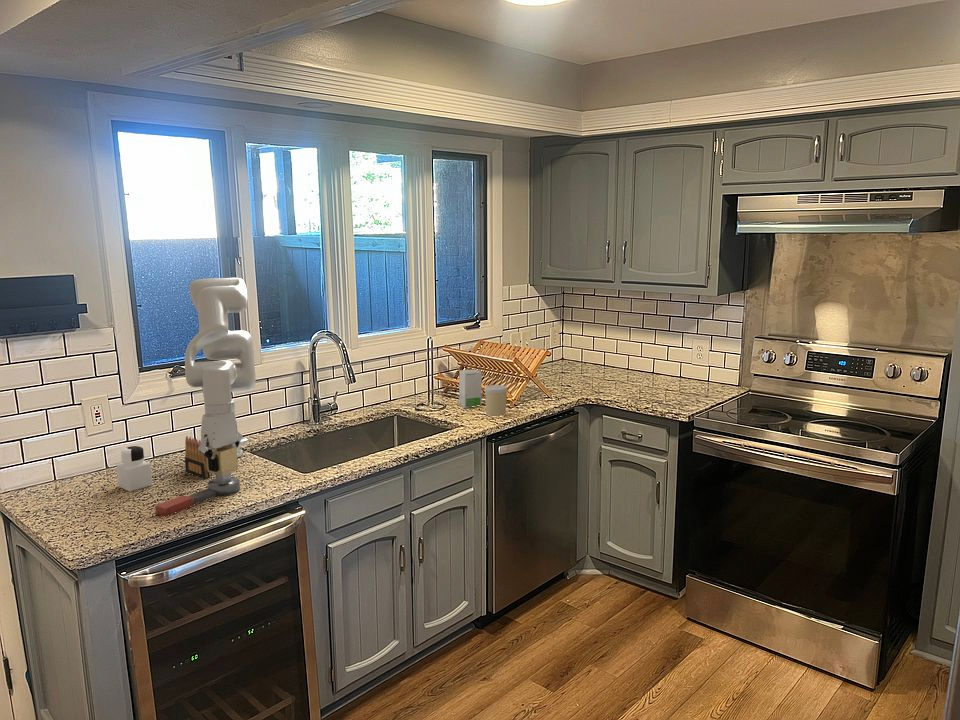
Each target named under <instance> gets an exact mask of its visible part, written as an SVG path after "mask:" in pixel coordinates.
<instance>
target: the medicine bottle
mask: <svg viewBox="0 0 960 720" xmlns="http://www.w3.org/2000/svg"><path fill="white" fill-rule="evenodd" d="M120 455H121V462H120V463H117V464H116V474H117V485H118V487H119V488H121V489H124V490H125V491H127V492H133V491H137V490H140V489H145V488H147V487H151V486H153V477H152V466H151V462H148V461H146V460H145V454H144V448H143V447H142V446H138V445H131V446H127V447H124V448H123V449H121V451H120Z"/></svg>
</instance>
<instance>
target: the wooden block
mask: <svg viewBox="0 0 960 720" xmlns="http://www.w3.org/2000/svg"><path fill="white" fill-rule="evenodd" d="M206 450H207V448H206ZM211 454H212V450H211ZM215 458H217V466H218V471H217V472H214V471H210V470H209V467H208V458H207V468H208V472H209V474H210V473H211V474H215V475H216V474H218V475H224V474H227V473H230V472H231V473H232V472H235V471H238V470H239V464H238V458H237V447H235V446H231V445H227V446H224V447H221V448H218V449H217V451H216V456H215Z"/></svg>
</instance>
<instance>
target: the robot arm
mask: <svg viewBox="0 0 960 720" xmlns="http://www.w3.org/2000/svg"><path fill="white" fill-rule="evenodd" d="M189 295H190V299H191V302H192V304H193V307H194V308H195V310H196V312H197V314H198V328H199V330H198V333H197V334H195V336H194V337H193V338H192V339H191V341H190V342H189V343H188V345H187V347H186V350H185V354H184V370H185V371H184V374H185V381H186V383H187V384H188V386H190V387H191V388H201V389H202V395H203V403H204V404H203V405H204V414H203V415H202V417H201V425H200V426H201V427H200V441H201V444H200V446H199V448H198V451H199V452H201V453H202V454H203V455H204V456H206V458H208V467H209V470H210V471H214V472H217V471H218V466H217V458H215V456H216V451H217V449H218V448H221V447H224V446H227V445H231V446H235V447H237V459H238V458H240V457H241V456H242V455H243V454H244V453H243V452H244V451H243V449H242V448H241V447H242V446H245V445H247V444H249V439H248V438H244V437H243V435H242V434H241V433H240V432H239V430H238V422H237V417H236V405H235V402H234V401H233V399H232V398H233V397H232V393H233V392H234V393H235V392H246V391H247V392H248V391H251V390H253V389H254V388H255V385H256V369H255V367H256V366H255V354H254V343H253V338H252V336H251V334H250V333H249V332H248V331H246V330H229V329H230V328H229V318H228V317H229V316H228V315H229V314H230V313H231V314H234V313H243V312H245V311H246V310H247V308H248V292H247V285H246V283H245V281H244V280H243V279H242V278H240V277H223V278H221V277H219V278H218V277H213V278H211V277H210V278H209V277H208V278H199V279H195V280H192V281H191V282H190V283H189ZM201 351H202V352H203V355H204V357H205V358H206V359H207V360H208V361H196V360H195V359H196V356H197V354H198V353H199V352H201ZM209 360H210V361H209ZM232 360H238V361H240V362H232ZM206 449H207V450H206ZM211 450H212V454H211Z"/></svg>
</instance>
